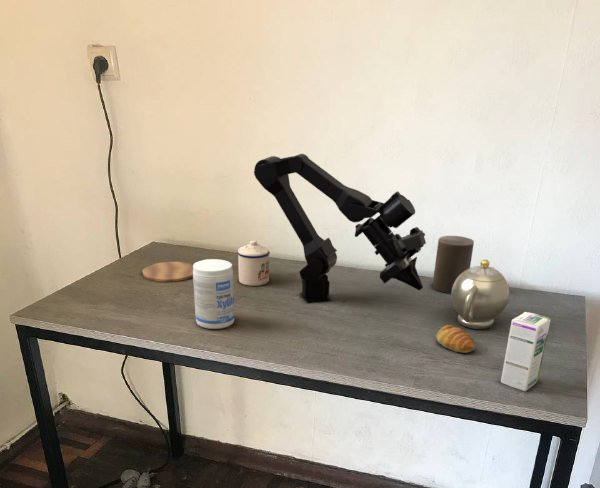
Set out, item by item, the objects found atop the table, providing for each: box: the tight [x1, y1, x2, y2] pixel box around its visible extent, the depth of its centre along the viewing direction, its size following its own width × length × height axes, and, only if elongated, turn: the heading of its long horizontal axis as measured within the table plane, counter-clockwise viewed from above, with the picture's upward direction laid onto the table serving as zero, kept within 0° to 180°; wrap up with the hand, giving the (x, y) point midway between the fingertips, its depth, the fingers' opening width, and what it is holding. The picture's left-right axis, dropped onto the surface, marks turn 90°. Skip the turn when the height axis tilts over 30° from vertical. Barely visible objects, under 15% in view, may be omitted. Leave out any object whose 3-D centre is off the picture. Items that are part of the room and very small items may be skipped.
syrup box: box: [500, 311, 551, 392], centre depth 129 cm, size 6×6×14 cm
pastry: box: [435, 324, 476, 354], centre depth 146 cm, size 9×7×4 cm
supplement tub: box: [192, 258, 235, 330], centre depth 153 cm, size 10×10×15 cm
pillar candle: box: [432, 235, 475, 294], centre depth 178 cm, size 10×10×15 cm
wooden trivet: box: [142, 261, 194, 283], centre depth 188 cm, size 16×16×1 cm
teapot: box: [450, 259, 510, 330], centre depth 154 cm, size 18×14×16 cm
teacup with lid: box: [237, 240, 271, 287], centre depth 181 cm, size 12×9×12 cm
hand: (421, 288), depth 160 cm, fingers closed
